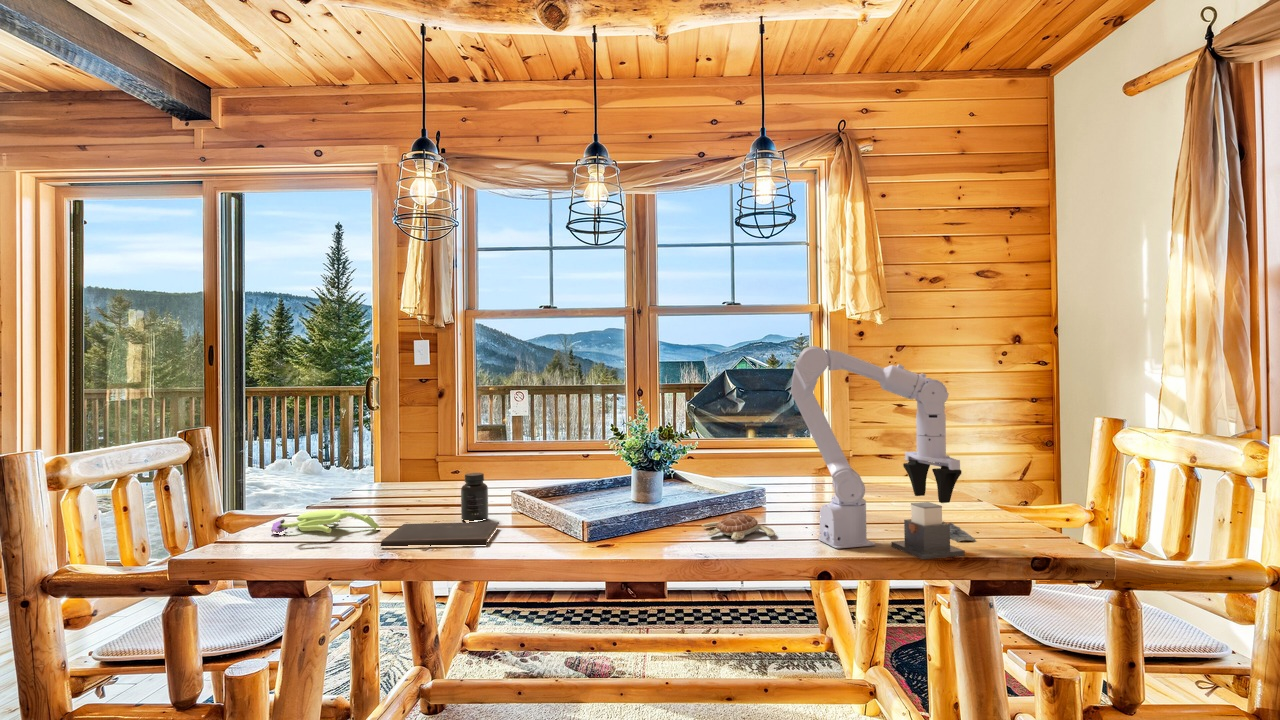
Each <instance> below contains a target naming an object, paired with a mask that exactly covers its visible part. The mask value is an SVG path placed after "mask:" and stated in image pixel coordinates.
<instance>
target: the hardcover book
mask: <svg viewBox="0 0 1280 720" xmlns="http://www.w3.org/2000/svg"><path fill="white" fill-rule="evenodd" d="M498 525H500V521H482V522H469V523H466V522H430V523H428V522H427V523H426V522H422V523H403V524H402V525H400V526H399V527H398V528H396V529H395V530H394V531H392V532H391V533H390V534H389V535H387V536H386V537H385V538H383V539H382V540H381V541H380V547H381V546H408V545H430V546H431V545H487V546H488V544H487V541H488V539H489V538H490V537H491V535H492V534H493V533H494V531H495V530H496V528H497V527H498Z"/></svg>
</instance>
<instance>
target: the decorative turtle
mask: <svg viewBox="0 0 1280 720" xmlns="http://www.w3.org/2000/svg"><path fill="white" fill-rule="evenodd" d="M701 526H702V527H703V528H707V527H709V528H710V527H716V528H713V529H711V530H710V531H708V532H707V536H709V537H713V536H715V535H718V534H720V533H721V534H723V535H726V536H729V537H730V536H731V537H730V538H731V540H734V541H735V540H736V541H737V540H741V539H744V538H745V536H748V535H750V534H752V533H754V532H755V531H756V530H761V531H763V533H765V534H766V535H767V537H773V536H775V535H776V532H775V530H773V528H770V527H768V526H765V525H763V524H760V523H758V520H757V519H756V518H755V517H754V516H753V515H749V514H746V513H742V512H734V513H731V514H728V515H726V516H725V517H724V518H722V519H721V520H719V521H711V522H708V523H707V522H706V523H703V524H701Z"/></svg>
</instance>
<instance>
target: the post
mask: <svg viewBox="0 0 1280 720" xmlns="http://www.w3.org/2000/svg"><path fill="white" fill-rule="evenodd" d="M910 507H911V508H910V515H911V517H910V519H911V521H912V522H915V523H918V524H921V525H924V526H926V525H938V524H942V522H943V505H939V504H936V503H934V502H933V503H932V502H929V501H921V502H910Z"/></svg>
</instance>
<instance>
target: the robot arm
mask: <svg viewBox="0 0 1280 720" xmlns="http://www.w3.org/2000/svg"><path fill="white" fill-rule="evenodd" d="M827 368H828V371H839V370H844V371H847V372H850V373H853V374H856V375H859V376H862V377H865V378H867V379H872V380H873V381H877V382H878V384H879V386H880V388H881V390H884V391H886V392H889V393H891V394H894V395H897V396H899V397H903V398H906V399H908V400H913V399H914V400H915V401H916V414H915V418H916V419H915V421H916V423H915V425H916V426H915V427H916V434H915V435H916V437H915V438H916V451H905V452H904V460H905V462H904V463H903V464H902V466H903V468H904V470H905V471H906V473H907V476H908V477H909V481H910V483H911V486H912V490H913V493H914V496H916V497H922V496H924V497H925V495H926V490H927V489H926V488H927V477H928V472H929V469H930V466H934V467H937V468H932V470H931V471H932V473H933V475H934V478H935V483H936V487H937V497H938V499H937V500H938V502H939V503H941V504H947V503H948V504H949V503H950V502H951V500H952V499H951V498H952V495H953V491H954V488H955V485H956V483H957V481H958V479H959V477H961V475H962V472H963V471H962V469H961V460H960V459H956V458H952V457H950V455H947V438H946V437H947V432H946V431H947V430H946V428H947V427H946V422H947V421H946V411H945V410H946V406H945V403H946V402H947V400H948V398H949V392H948V390H947V387H946V385H945V384H944V383H943V382H941V381H940V380H937V379H932V378H930V377H927V374H926V373H923V372H921V373H916V372H914V371H911V370H908V369H905V365H902V364H899V363H898V364H897V365H894V364H890V365H888V366H885V367H882V366H878V365H876V364H873V363H871V362H869V361H866V360H863V359H860V358H859V357H855V356H853V355H850V354H848V353H845V352H843V351H839V350H832V349H829V348H825V349H824V348H822V347H820V346H816V345H811V346H807V347H806V348H803V350H802V351H801V352H800V354H799V356H798V358H797V359H796V361H795V363H794V367H793V373H792V375H793V376H792V381H791V387H790V393H791V396H792V398H793V401H794V402H795V404H796V406H797V408H798V411H799V412H800V415H801V416H802V418H803V421H804V422H805V425H806V426H807V428H808V430H809V433H810V434H811V437H812V438H813V442H814V443H815V445H816V447H817V449H818V451H819V453H820V454H821V456H822V459H823V461H824V463H825V465H826V466H827V469H828V471H829V474H830V475H831V477H832V486H833V488H834V496H832V497H831V501H830V502H828V503H824V504H823V505H821V507H820V510H819V537H818V538H817V539H818V541H820V542H822V543H824V544H826V545H828V546H830V547H833V548H835V549H849V548H851V549H852V548H859V547H872V546H876V542H874V541H871V540H869V539H868V537H867V535H868V534H867V533H868V532H867V500H866V499H864V497H865V495H866V486H865V484H864V482H863V479H862V478H861V476H860V474H859V473H858V472H857V471H856V470H854V469H853V468H852V467H851V465H850V463H849V461H848V459H847V457H846V455H845V454H844V451H843V450H842V447H841V445H840V442H839V441H838V440H837V438H836V436H835V433H834V431H833V429H832V427H831V425H830V424H829V422H828V419H827V418H826V416H825V414H824V411H823V409H822V407H821V405H820V404H819V401H818V400H817V398H816V396H815V393H814V390H815V389H816V386H817V383H818V379H819V378H820V377H821V376H822V375H823V373H824V372H825V371H826V369H827Z"/></svg>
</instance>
